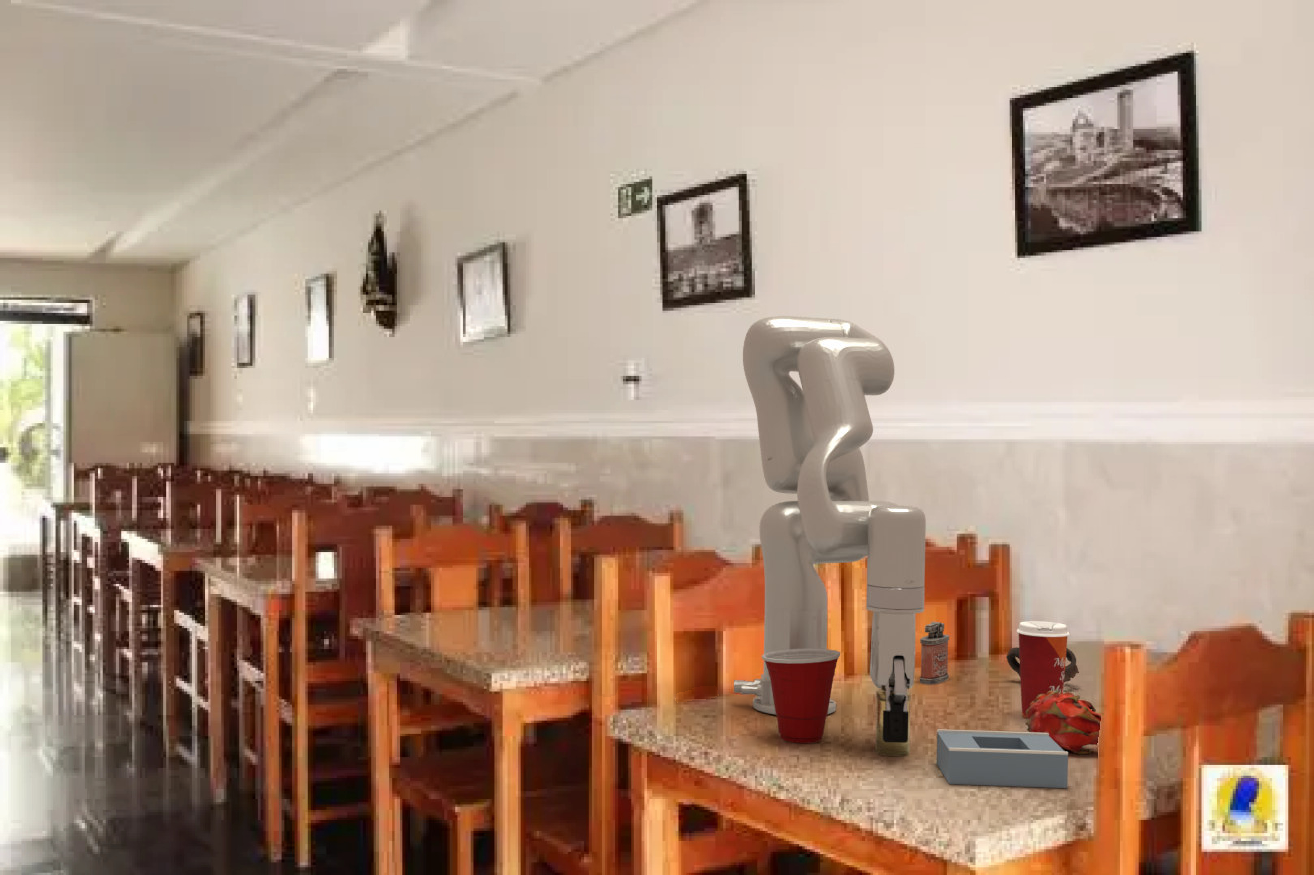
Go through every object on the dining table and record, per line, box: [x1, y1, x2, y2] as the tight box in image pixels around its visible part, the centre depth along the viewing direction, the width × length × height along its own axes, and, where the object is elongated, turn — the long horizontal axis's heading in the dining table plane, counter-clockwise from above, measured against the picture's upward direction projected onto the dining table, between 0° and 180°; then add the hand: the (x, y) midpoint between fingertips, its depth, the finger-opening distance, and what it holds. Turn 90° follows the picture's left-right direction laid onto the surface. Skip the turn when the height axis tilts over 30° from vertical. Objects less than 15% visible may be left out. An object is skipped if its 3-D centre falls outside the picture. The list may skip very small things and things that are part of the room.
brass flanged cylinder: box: [875, 688, 912, 757], centre depth 169 cm, size 4×4×8 cm
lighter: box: [919, 621, 950, 685], centre depth 220 cm, size 8×3×10 cm, turn 144°
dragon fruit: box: [1025, 690, 1101, 755], centre depth 173 cm, size 8×8×12 cm
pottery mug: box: [1005, 646, 1080, 683], centre depth 218 cm, size 12×9×8 cm
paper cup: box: [1016, 620, 1071, 720], centre depth 193 cm, size 8×8×14 cm
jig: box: [935, 728, 1069, 789], centre depth 159 cm, size 14×10×4 cm
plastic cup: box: [761, 648, 841, 744], centre depth 176 cm, size 11×11×12 cm
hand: (892, 735), depth 169 cm, fingers open, 4 cm apart
